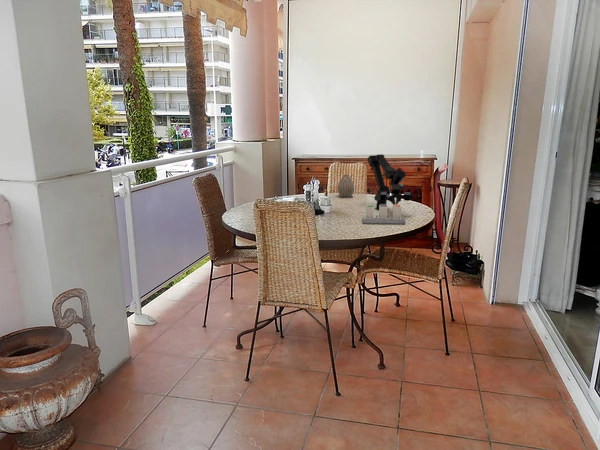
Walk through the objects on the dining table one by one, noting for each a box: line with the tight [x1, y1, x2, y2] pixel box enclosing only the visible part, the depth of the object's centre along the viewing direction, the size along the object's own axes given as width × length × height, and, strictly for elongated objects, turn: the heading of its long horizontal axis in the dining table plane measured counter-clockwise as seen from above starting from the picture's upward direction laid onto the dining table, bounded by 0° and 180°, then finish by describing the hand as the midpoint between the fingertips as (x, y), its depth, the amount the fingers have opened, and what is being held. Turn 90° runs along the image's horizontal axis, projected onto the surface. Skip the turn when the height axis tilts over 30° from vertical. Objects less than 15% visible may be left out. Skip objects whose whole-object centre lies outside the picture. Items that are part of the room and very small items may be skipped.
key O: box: [391, 203, 402, 219], centre depth 260 cm, size 4×4×9 cm
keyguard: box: [362, 215, 407, 224], centre depth 259 cm, size 10×24×2 cm, turn 83°
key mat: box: [361, 217, 406, 226], centre depth 260 cm, size 12×24×1 cm, turn 83°
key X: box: [378, 204, 388, 218], centre depth 261 cm, size 4×4×9 cm
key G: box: [365, 204, 375, 218], centre depth 260 cm, size 4×4×9 cm
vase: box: [336, 173, 355, 198], centre depth 341 cm, size 13×13×18 cm
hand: (395, 207), depth 267 cm, fingers closed
